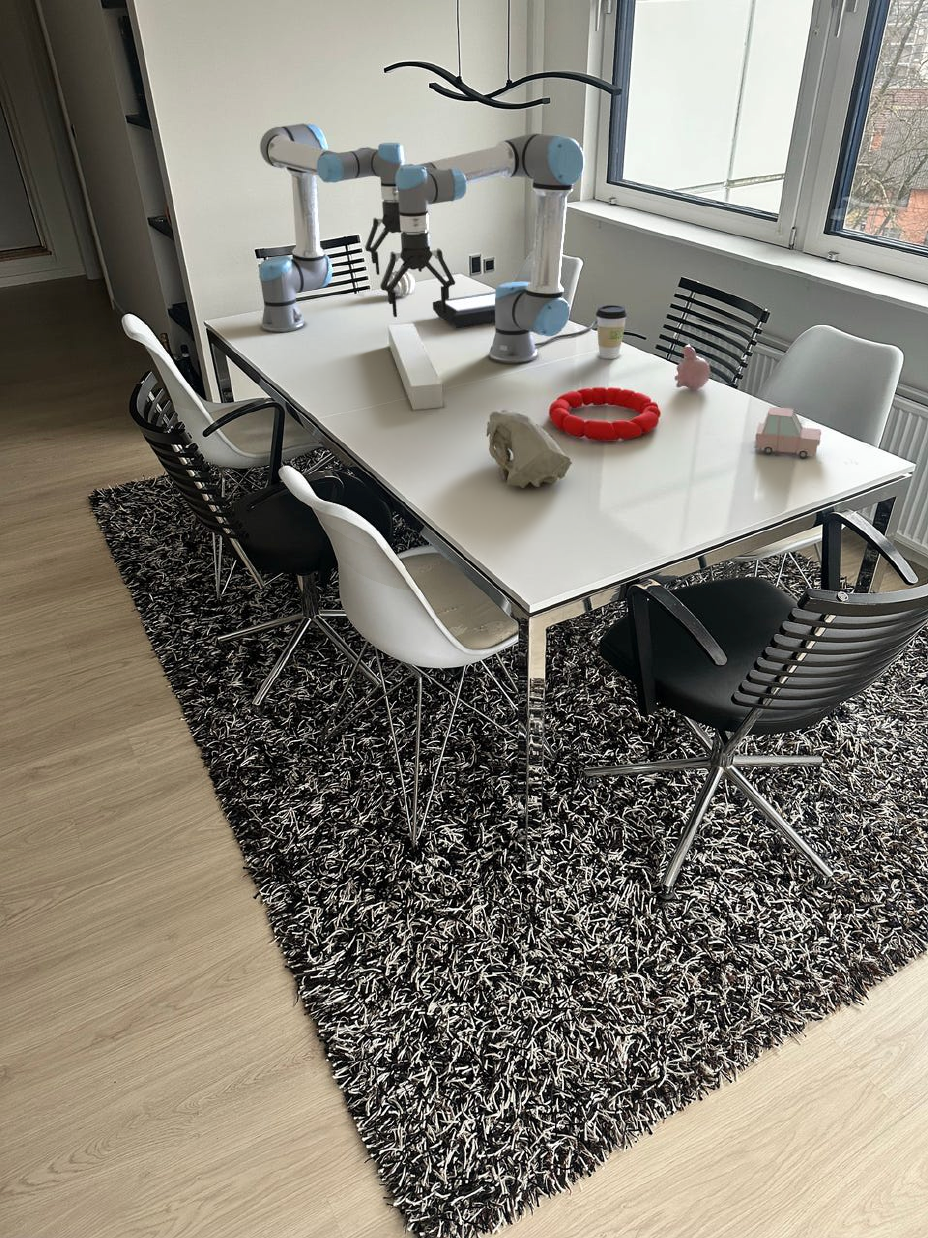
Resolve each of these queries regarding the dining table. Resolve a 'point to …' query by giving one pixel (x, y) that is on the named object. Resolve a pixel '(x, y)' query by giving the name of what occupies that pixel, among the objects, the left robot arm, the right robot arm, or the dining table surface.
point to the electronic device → (468, 310)
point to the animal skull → (525, 450)
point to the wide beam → (415, 367)
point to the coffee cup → (610, 329)
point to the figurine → (692, 370)
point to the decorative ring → (604, 428)
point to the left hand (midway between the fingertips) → (399, 272)
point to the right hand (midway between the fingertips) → (419, 313)
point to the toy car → (786, 434)
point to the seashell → (403, 284)
